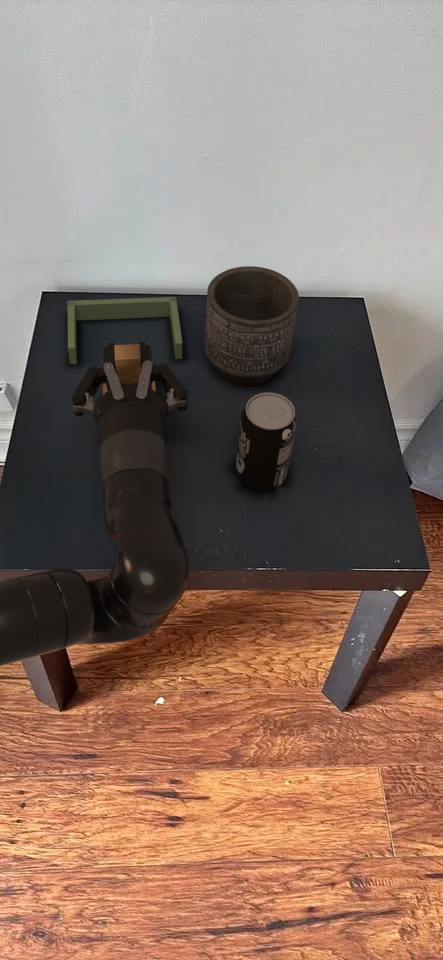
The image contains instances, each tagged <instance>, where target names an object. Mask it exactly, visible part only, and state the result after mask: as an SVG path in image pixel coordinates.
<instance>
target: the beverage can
mask: <svg viewBox="0 0 443 960" xmlns="http://www.w3.org/2000/svg"><path fill="white" fill-rule="evenodd" d="M297 425H298V418H297V415H296V410H295V406H294V403H292V401H291V400H290V399H288V398H287V397H286V396H285V395H282V394H279V393H276V392H260V393H258V394H255V395H254V396H252V397H251V398H249V399H248V401H247V403H246V405H245V406H244V408H243V409H242V412H241V415H240V425H239V431H238V432H239V433H238V442H237V451H236V460H235V461H236V462H235V474H236V477H237V479H238V480H239V481H240V482H241V483H242V484H243V485H244V486H245V487H247V488H248V489H251V490H254V491H257V492H266V491H267V492H268V491H272V490H275V489H277V488H279V487H280V486H281V485H283V484H284V482H285V480H286V478H287V475H288V470H289V466H290V460H291V456H292V450H293V445H294V441H295V435H296V430H297Z"/></svg>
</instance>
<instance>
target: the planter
mask: <svg viewBox="0 0 443 960" xmlns="http://www.w3.org/2000/svg"><path fill="white" fill-rule="evenodd" d="M206 293H207V294H206V308H205V309H206V310H205V311H206V312H205V327H204V328H205V329H204V351H205V354H206V356H207V358H208V360H209V361H210V363H211V364H212V366H213V367H214V368H215V370H217V372H218V373H219V374H220V375H221V377H223V378H224V379H226V380H227V381H228V382H231V383H233V384H236V385H240V386H257V385H260V384H261V383H264V382H267V380H270V378H272V377H274V375H275V374H277V373H278V372H279V371H280V370H282V369H283V368H284V366H285V365H286V364H287V362H288V361H289V359H290V356H291V352H292V346H293V340H294V339H293V338H294V333H295V329H296V321H297V315H298V308H299V302H300V295H299V294H300V293H299V291H298V288H297V287H296V285H295V284H294V283H293V282H292V280H290V278H288V277H287V276H285V275H283V274H282V273H280V272H278V271H276V270H273V269H270V268H266V267H262V266H254V265H253V266H251V265H249V266H248V265H245V266H236V267H233V268H229V269H227V270H224V271H222V272H220V273H218V274H217V275H216V276H214V277H213V278H212V280H211V281H210V283H209V285H208V286H207V292H206Z"/></svg>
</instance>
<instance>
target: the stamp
mask: <svg viewBox="0 0 443 960" xmlns="http://www.w3.org/2000/svg"><path fill="white" fill-rule="evenodd" d="M114 350H115V366H116V374H117V375H118V378H119V382H120V383H125V384H132V383H136V382H139V376H140V373H141V356H140V345H139V343H133V344H115V345H114ZM152 389H153V390H154V391H155V392H156V393H157V387H156V381H154V380H153V382H152ZM107 391H108V390H107V387H106V384H105V383H103V384H102V396H103V395H104V394H105V393H106V392H107Z"/></svg>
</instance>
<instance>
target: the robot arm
mask: <svg viewBox="0 0 443 960" xmlns="http://www.w3.org/2000/svg"><path fill="white" fill-rule="evenodd" d="M138 344H139V345H140V356H141V373H140V376H139V382H136V383H132V384H125V383H120V382H119V378H118V375H117V374H116V366H115V350H114V345H116V344H115V342H108V346H105V347H104V348H103V349H102V351H103V352H102V353H103V365H102V366H100V367H97V366H90V367H89V368H88V369H87V370H86V373H85V374H84V376H83V377H82V379H81V381H80V383H79V384H78V386H77V387H76V389H75V391H74V392H73V394H72V396H71V405H72V411H73V415H74V416H75V417H82V416H84V415H85V414H87V415H90V416H93V419H94V421H95V422H96V423H97V428H98V429H97V431H98V458H99V459H98V468H99V477H100V482H101V486H102V487H101V488H102V506H103V511H102V512H103V523H104V527H105V531H106V533H107V535H108V537H109V538H110V539H111V540H112V541H113V542H114V543H116V556H115V562H114V564H113V565H112V567H111V569H110V570H109V572H108V575H107V576H104V577H101V578H99V579H95V580H94V579H93V580H87V579H86V578H85V576H84V575H82V573H80V572H79V571H77V570H75V569H72V568H55V569H51V570H46V571H41V572H36V573H32V574H27V575H22V576H18V577H13V578H8V579H4V580H0V667H3V666H7V665H10V664H14V663H19V662H22V661H25V660H29V659H32V658H35V657H39V656H43V655H46V654H50V653H54V652H57V651H60V650H64V649H67V648H70V647H72V646H76V645H100V644H101V645H102V644H113V643H115V644H116V643H123V642H128V641H129V642H130V641H133V640H137V639H140V638H142V637H145V636H147V635H149V634H152V633H153V632H155V631H156V630H158V629H159V628H161V626H162V625H163V624H164V623H165V621H166V620H167V618H168V617H169V616H170V614H171V613H172V611H173V610H174V609H175V607H176V606H177V605H178V603H179V601H180V600H181V599H182V597H183V595H184V594H185V592H186V590H187V587H188V583H189V575H190V574H189V573H190V564H189V563H190V562H189V556H188V552H187V551H188V550H187V548H186V545H185V542H184V540H183V537H182V535H181V532H180V529H179V526H178V524H177V521H175V518H174V516H173V505H172V504H173V503H172V495H171V494H172V493H171V485H170V483H171V482H170V481H171V479H170V478H171V459H170V454H169V443H168V434H167V425H166V424H167V422H166V419H167V418H168V416H169V412H170V411H173V410H176V409H177V411H180V412H185V411H186V410H187V409H188V398H189V396H188V395H189V391H187V389H186V387H184V385H183V383H182V382H181V381H180V379H178V377H177V376H176V375H175V374H174V372H173V371H172V369H171V368H170V367H169V365H168V364H167V363H159V364H155V363H154V362H153V357H152V348H151V346H150V345H149V344H146V342H145V340H143V341H138ZM153 381H155V382H157V383H158V385H159V386H160V387H161V389H162V390H163V391H164V393H165V394H166V399H165V398H164V397H162V395H160V394H159V393H158V392H157V391H156V392H155V391H154V390H153V389H152V382H153ZM103 384H106V387H107V390H108V391H107V392H106V393H105V394H104V395H103V394H102V396H101V397H100V398H99V399H98V400H97V401H96V403H94V397H95V395H96V394H97V392H98V390H99V388H100V387H101V385H103Z"/></svg>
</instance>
